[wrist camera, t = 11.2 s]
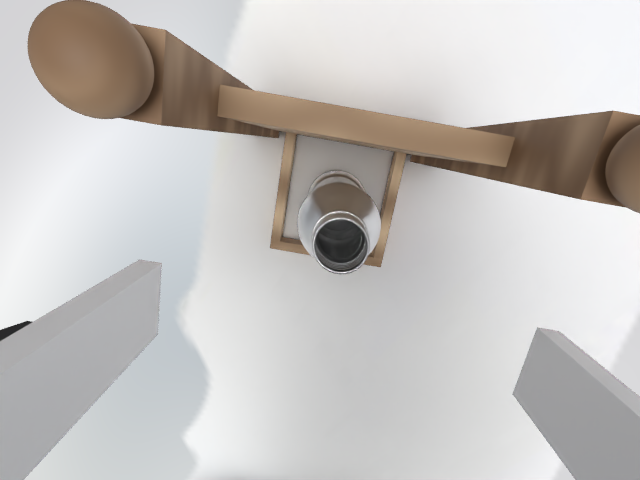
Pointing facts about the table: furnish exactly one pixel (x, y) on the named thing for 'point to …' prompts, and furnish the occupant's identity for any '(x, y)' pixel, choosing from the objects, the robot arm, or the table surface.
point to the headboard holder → (317, 116)
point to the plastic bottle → (338, 222)
